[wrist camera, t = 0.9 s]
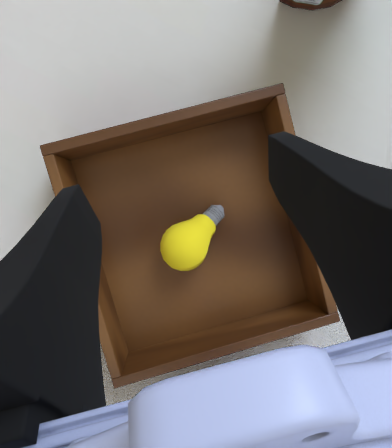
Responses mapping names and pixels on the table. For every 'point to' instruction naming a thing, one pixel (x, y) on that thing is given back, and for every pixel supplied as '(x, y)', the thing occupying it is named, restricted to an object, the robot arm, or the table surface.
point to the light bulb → (190, 239)
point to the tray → (184, 210)
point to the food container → (310, 3)
